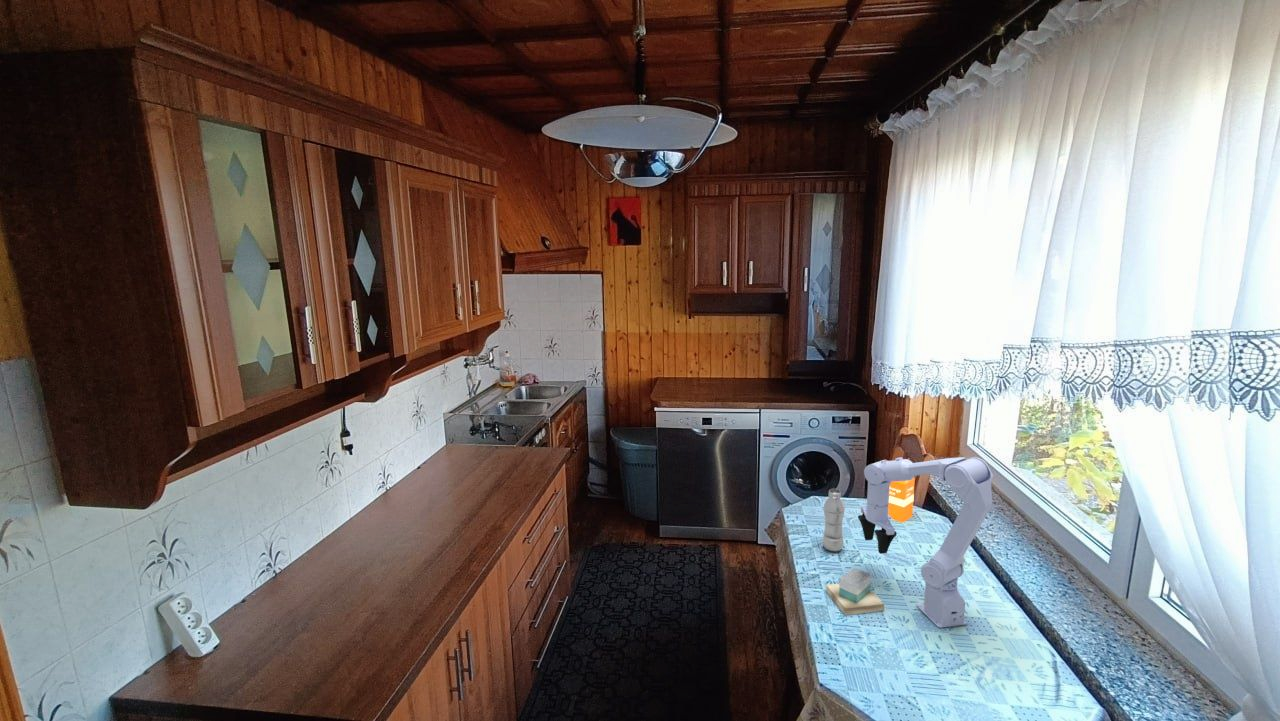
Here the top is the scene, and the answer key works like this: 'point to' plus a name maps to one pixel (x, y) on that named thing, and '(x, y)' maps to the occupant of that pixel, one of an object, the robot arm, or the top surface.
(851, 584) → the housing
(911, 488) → the orange juice
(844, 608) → the stand
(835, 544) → the plastic bottle
